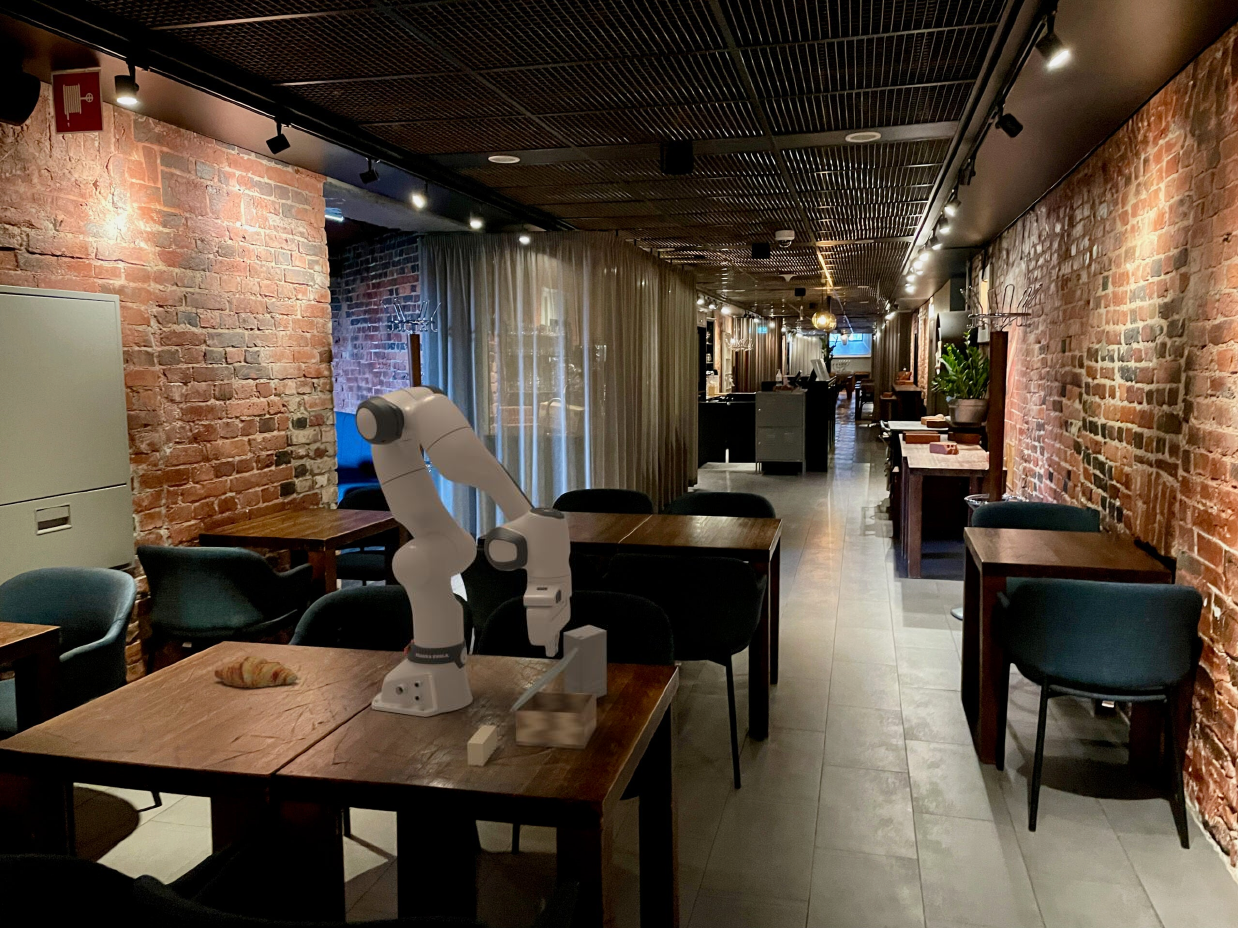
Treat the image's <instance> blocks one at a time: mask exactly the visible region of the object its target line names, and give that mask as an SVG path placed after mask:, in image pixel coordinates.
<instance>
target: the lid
mask: <svg viewBox="0 0 1238 928" xmlns="http://www.w3.org/2000/svg"><path fill="white" fill-rule="evenodd" d="M577 651H578V649H577V647H575V648H574V649H573V650H572V651H570V652H569V653H568V654H567V655H566V656H565V657H564V656H563V658H561V659H560V660H559V661H558V662H556V664H555V665H553V666H552V667H551V668H550V669H549V670H548V671H547V672H545V674H543V675H542V676H540V678H539V679H537V680H536V681H535V682H534V683H532V685H531V686H529V687H528V688H526V689H525V690H524V692H523V693H522V694H521V695H520V696H519V698H518V699H517V700H516V701H515V703H514V704H513V705H512V706H511V708H510V709H509V713H511V714H513V713H514V712H515V711H516V710H517V709H518V708H519V707H520V706H522V705H523V704H524V703H525V702H526V701H527V700H528V699H530V698H531V697H532V696H533V695H534V694H535V693H536V692H538V691H540V690H541V689H543V687H545V686H546V685H547V684H548V683H549V682H550V681H551V680H553V679H554V678H555V677H556V676H557V675H559V673H561V672H562V671H564V668H565V667H566V666H567V664H568V663H569V662H570V660H571V659H572V658H573V656H574V655H575V654H576V652H577Z"/></svg>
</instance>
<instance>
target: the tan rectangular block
mask: <svg viewBox="0 0 1238 928" xmlns="http://www.w3.org/2000/svg"><path fill="white" fill-rule="evenodd" d="M497 728H498V727H497V725H485V724H481V726H480V727H479V728H478V730H477V731H475V733H474V734H473V736H472V737H471V738H470V739H469V740H468V742H467V745H466V746H467V747H466V748H467V765H468V766H476V765H478V767H479V766H480V767H484V765H485V764H486V762H488V760H489V759H488V758H490V757H491V756H492V755H493V754H494V752H495V751H494V750H497V748H498V729H497ZM491 754H492V755H491ZM490 755H491V756H490Z"/></svg>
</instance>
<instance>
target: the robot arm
mask: <svg viewBox="0 0 1238 928" xmlns="http://www.w3.org/2000/svg"><path fill="white" fill-rule="evenodd" d="M354 419H355V426H356V429H357V432H358V434H359V435H360V436H361V438H362V439H363V440H364V441H365V442H367V443H369V444H370V451H371V452H370V453H371V457H372V463H373V467H374V471H375V473H376V476H377V479H378V480H377V481H378V482H379V485H380V488H381V491H382V493H383V495H384V497H385V500H386V503H387V505H388V507H389V511H390V512H391V515H392V517H393V519H394V520H395V521H397V522H398V523H399V524H402V525H403V526H404V527H405V528H406V529H407V530H408V532H409V533H410V534H411V536H412V537H413V538H412V539H411V540H409V541H408V542H406V543H404V545H402V546H401V547H400V548H399V549H398V550H397V551H395V553H394V556H393V558H392V561H391V562H392V563H391V566H392V567H391V568H392V572H393V574H394V575H393V576H394V577H395V579H396V580H397V582H398V583H399V584H400V585H402V586H403V587H404V589H405V590H406V594H407V596H408V599H409V602H410V606H411V611H412V624H413V625H412V626H413V639H411V641H410V643H408V644H407V645H406V647H405V648H404V649H403V650H404V651H403V654H406V658H405V659H404V660H403V661H401V662H400V663H399V664H398V665H397V666H395V667H394V668H393V669H392V670H391V671H389V672H388V673H387V674H386V675H385V677H384V679H383V682H382V685H381V686H382V687H381V692H379V693H378V694H377V695H376V696H375V697H374V698H373V699H372V701H371V709H372V710H374V711H375V710H376V711H383V712H389V713H390V712H391V713H397V714H404V715H410V716H418V717H426V718H427V717H431V716H435V715H439V714H441V713H447V712H453V711H457V710H460V709H463V708H465V707H466V706H468V705H470V704H471V703H472V702H473V700H474V697H473V694H472V692H471V689H470V683H469V680H468V675H467V668H466V665H467V660H468V659H467V656H468V654H467V652H468V651H467V643H466V638H465V637H464V635H465V634H464V608H463V605H462V604H461V603H460V601H459V600H458V599H456V596H455V594H454V590H453V586H452V577H455V576H458V575H460V574H462V573H463V572H464V571H466V570H467V568H468V567H470V566H471V564H472V563H474V561H475V560H476V556H477V554H478V553H477V550H478V549H477V544H476V541H475V539H474V537H473V535H471V534H470V533H469V532H468V531H467V530H466V529H464V528H462V527H461V526H460V525H459V524H458V522H457V521H456V520H455V519H454V517H453V516H452V514H451V513H450V512H449V510H448V509H447V507H446V506H445V504H444V503H443V501H442V499H441V497H440V495H439V493H438V490H437V488H436V485H435V483H434V480H433V478H432V475H431V473H430V471H429V468H428V466H427V463H426V461H425V459H424V456H423V454H422V451H421V447H422V449H423V451H424V453H425V454H426V456H427V458H428V459H429V461H430V463H431V465H432V467H433V468H434V469H435V470H436V471H437V472H438V474H440V475H441V476H442V478H444V479H445V480H447V481H450V482H452V483H456V484H460V485H465V486H470V487H473V488H475V489H478V490H481V491H483V492H484V493H486V494H487V495H488V496H489V497H491V499H492V500H493V501H494V503H495V504H496V505H497V507H498V508H499V510H500V511H501V512H502V514H503V515H504V516H505V517H506V519H507V520H508V522H506V523H503V524H500V525H498V526H496V527H494V528H492V529H490V530H489V532H488V533H487V534H486V537H485V540H484V545H483V549H484V555H485V557H486V560H487V561H488V562H489V564H490V565H491V566H492V567H493V568H495V569H497V570H499V571H508V572H509V571H514V570H518V569H524V570H526V573H527V574H526V575H527V577H526V578H527V583H526V590H525V593H524V595H523V606H524V607H525V606H526V622H527V623H526V625H527V633H528V639H529V642H530V644H531V645H533V646H544V647H545V656H546V657H552V658H553V657H554V656H555V655H556V654H557V653H558V652H559V641H560V640H559V639H560V632H561V630H562V629H563V628H564V627H565V626H566V625H567V623H569V621H570V619H571V602H570V601H571V600H570V598H571V597H572V594H573V592H572V591H573V590H572V571H571V566H570V561H569V559H570V554H571V541H570V539H571V538H570V531H569V530H570V529H569V524H568V520H567V518H566V515H565V514H564V513H563V512H562V511H560V510H558V509H556V508H553V507H543V506H541V507H540V506H539V507H538V506H537V507H535V505H534V504H533V503H532V502H531V500H530V499H529V498H528V497H527V495H526V493H525V492H524V490H522V488H521V487H520V485H519V484H518V483H517V481H516V480H515V479H514V477H513V476H512V475H511V474H510V472H509V471H508V470H507V468H506V467H505V466H504V465H503V464H502V462H500V461H499V460H498V459H497V458H496V457H495V456H494V454H492V453H491V452H490V451H489V449H487V447H486V446H485V445H484V444H483V442H482V441H481V439H480V438H479V437H478V435H477V434H476V432H475V430H474V429H473V427H472V426H471V424H470V422H469V421H468V419H467V418H466V417H465V415H464V414H463V413H462V411H461V410H460V409H459V408H458V407H457V405H456V404H455V403H454V402H453V401H452V400H451V398H449V397H448V396H447V394H446V393H445V392H444V390H442V389H441V388H440V387H438V386H434V385H430V384H429V385H427V384H426V385H425V384H424V385H423V384H422V385H419V386H414V387H413V386H412V387H405V388H399V389H396V390H394V391H389V392H386V393H384V394H383V393H382V394H381V395H374V396H371V397H369V398H367V399H365V400H363V401H362V402H360V403H359V404H358V406H357V407H356V410H355V418H354Z"/></svg>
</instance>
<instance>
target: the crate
mask: <svg viewBox="0 0 1238 928" xmlns="http://www.w3.org/2000/svg"><path fill="white" fill-rule="evenodd" d="M514 712H515V743H516V746H529V747H533V746H534V747H545V748H546V747H548V748H562V749H576V750H577V749H579V750H581V749H582V750H585V749H586V747H587V745H588V744H589V741H590V739H591V737H592V735H593V734H594V732H595V730H596V728H597V727H598V725H597V724H598V723H597V698H596V694H587V693H566V692H564V691H563V692H561V691H546V690H545V691H542V690H541V691H540V690H539V691H538V692H536V693H535V694H534V695H533V696H532V697H531V698H530V699H528V700H527V701H526V702H525V703H524V704H523V705H522V706H520V707H519V708H518V709H517V710H516V711H514Z"/></svg>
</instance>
